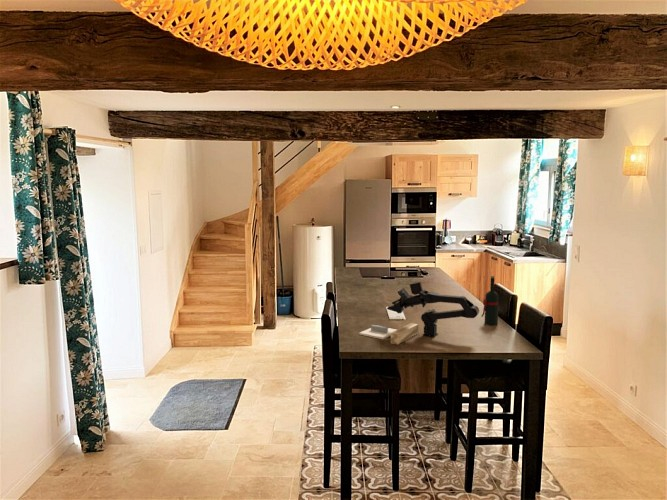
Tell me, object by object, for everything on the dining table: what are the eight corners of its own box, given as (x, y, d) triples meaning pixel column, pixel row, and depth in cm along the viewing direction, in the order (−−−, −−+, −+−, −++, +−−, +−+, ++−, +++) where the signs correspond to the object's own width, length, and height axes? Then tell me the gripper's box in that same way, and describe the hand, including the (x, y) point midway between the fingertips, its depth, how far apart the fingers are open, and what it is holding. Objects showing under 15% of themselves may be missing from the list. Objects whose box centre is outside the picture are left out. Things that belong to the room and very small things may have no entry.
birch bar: (418, 334, 298) (418, 324, 297) (397, 345, 279) (397, 334, 278) (411, 332, 301) (411, 322, 300) (390, 343, 282) (390, 333, 281)
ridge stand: (398, 331, 302) (398, 325, 302) (382, 339, 288) (382, 332, 288) (376, 327, 312) (376, 320, 311) (359, 334, 298) (359, 327, 297)
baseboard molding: (403, 308, 358) (385, 308, 359) (403, 304, 358) (385, 304, 358) (408, 320, 328) (389, 320, 328) (408, 316, 327) (389, 316, 328)
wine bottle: (478, 322, 320) (480, 275, 316) (494, 321, 322) (495, 274, 317) (484, 325, 312) (485, 277, 308) (499, 325, 314) (501, 276, 310)
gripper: (414, 283, 304) (390, 288, 312) (405, 292, 288) (380, 298, 295) (419, 300, 306) (396, 305, 313) (411, 311, 289) (386, 316, 297)
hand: (389, 305), depth 304 cm, fingers open, 9 cm apart
